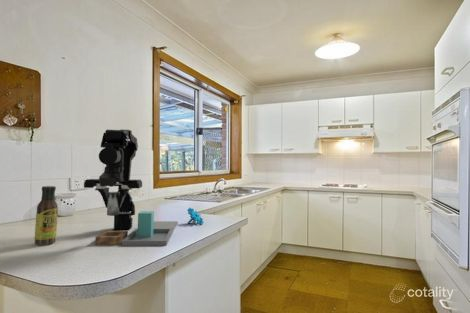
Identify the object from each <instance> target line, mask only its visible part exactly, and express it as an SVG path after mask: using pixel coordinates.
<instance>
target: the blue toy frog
mask: <svg viewBox="0 0 470 313" xmlns="http://www.w3.org/2000/svg"><path fill="white" fill-rule="evenodd" d="M186 211H187V214H188V215H189V217H190V219H189V221H187V224H190V223H192V222H193V223H196V224H197V225H201V226H202V225H203V223H204V218H203V217H202V216H201V215H202V214H201V213H198V211H197V210H195V208H191V207H189V208H188V209H187V210H186Z"/></svg>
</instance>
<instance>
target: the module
mask: <svg viewBox="0 0 470 313" xmlns="http://www.w3.org/2000/svg"><path fill="white" fill-rule="evenodd" d="M154 218H155V211H154V210H141V211H139V212H138V213H137V228H138V234H137V237H151V236H152V235H153V229H154V221H155V219H154Z"/></svg>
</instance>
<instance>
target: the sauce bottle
mask: <svg viewBox="0 0 470 313" xmlns="http://www.w3.org/2000/svg"><path fill="white" fill-rule="evenodd" d="M56 190H57V189H56V186H55V185H44V186H41V198H40V199H41V200H40V201H39V203H38V204H37V206H36V213H35V214H36V215H35V227H34V228H35V229H34V245H36V246H47V245H51V244H54V243H56V237H57V231H58V230H57V228H58V227H57V226H58V215H59V214H58V212H59V211H58V210H59V209H58V207H59V206H58V203H57V202H56V201H55V194H56Z"/></svg>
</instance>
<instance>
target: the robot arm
mask: <svg viewBox="0 0 470 313" xmlns="http://www.w3.org/2000/svg"><path fill="white" fill-rule="evenodd" d="M138 143H139V142H138V139H137V137H135V135H134V134H133V131H132V130H130V129H105V132H103V134H102V139H101V143H100V148H101V150H100V151H99V153H98V159H99V161H100V163H102V164H103V165H105V166H104V172H102V174H100V175H99V176H98V178H89V179H88V178H87V179H85V180H84V182H83V189H84V188H86V189H90V188H91V189H93V188H94V187H95V189H94V190H95V191H98V193H99V194H100V195H101V197H102V200H103V202H104V205H105V208H106V209H107V198H108V192H110V187H111V188H112V187H118V189H117V191H116V192H120V195H119V215H115V216H113V229H112V231H130V230H131V229H132V228H133V217H132V216H135V215H136V207H135V203H134V201H133V197H132V195H131V194H130V190H132V189H141V188H142V187H143V181H142V179H131V173H132V172H131V169H132V162H133V161H132V160H134V158H135V157H136V155H137V151H138V148H139V146H138Z"/></svg>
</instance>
